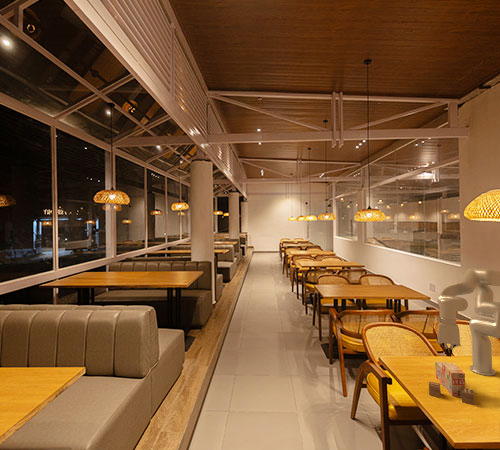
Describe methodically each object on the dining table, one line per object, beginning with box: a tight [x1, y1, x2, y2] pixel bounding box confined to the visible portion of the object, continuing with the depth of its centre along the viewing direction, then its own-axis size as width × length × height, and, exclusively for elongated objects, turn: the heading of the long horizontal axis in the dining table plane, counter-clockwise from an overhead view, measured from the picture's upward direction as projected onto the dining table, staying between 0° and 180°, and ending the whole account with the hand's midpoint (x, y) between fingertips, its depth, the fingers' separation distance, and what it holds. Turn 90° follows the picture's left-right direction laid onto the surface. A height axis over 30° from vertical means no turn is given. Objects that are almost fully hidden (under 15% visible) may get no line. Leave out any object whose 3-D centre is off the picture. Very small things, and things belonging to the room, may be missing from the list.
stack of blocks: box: [434, 361, 466, 397], centre depth 171 cm, size 21×6×12 cm, turn 170°
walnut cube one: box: [428, 381, 441, 398], centre depth 164 cm, size 5×5×5 cm
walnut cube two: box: [460, 387, 475, 406], centre depth 157 cm, size 5×5×5 cm
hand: (449, 355), depth 171 cm, fingers closed
